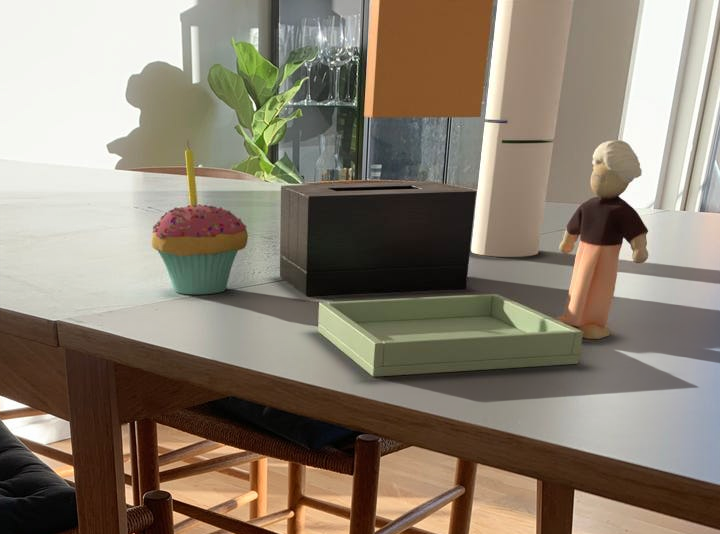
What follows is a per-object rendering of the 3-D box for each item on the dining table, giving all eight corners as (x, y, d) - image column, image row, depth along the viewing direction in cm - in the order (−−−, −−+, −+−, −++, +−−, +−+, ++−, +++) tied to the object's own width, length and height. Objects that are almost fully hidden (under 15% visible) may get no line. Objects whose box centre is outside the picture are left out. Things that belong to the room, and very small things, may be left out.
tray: (493, 321, 74) (497, 293, 73) (578, 364, 62) (583, 331, 61) (317, 331, 71) (318, 302, 70) (373, 377, 60) (375, 343, 59)
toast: (469, 116, 69) (490, -73, 63) (480, 116, 67) (502, -77, 61) (363, 117, 67) (374, -76, 62) (372, 117, 66) (384, -80, 60)
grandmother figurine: (525, 328, 71) (553, 139, 65) (555, 321, 74) (584, 137, 67) (618, 347, 66) (657, 143, 60) (646, 338, 68) (687, 141, 62)
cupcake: (140, 286, 87) (131, 140, 81) (222, 278, 91) (219, 137, 85) (178, 302, 81) (171, 145, 75) (265, 293, 84) (265, 141, 78)
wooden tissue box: (437, 269, 94) (445, 180, 90) (478, 287, 86) (489, 190, 82) (279, 276, 91) (280, 185, 87) (305, 296, 83) (308, 196, 79)
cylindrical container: (497, 245, 108) (529, -21, 95) (551, 251, 103) (592, -27, 91) (457, 251, 104) (485, -25, 91) (511, 259, 99) (549, -32, 87)
